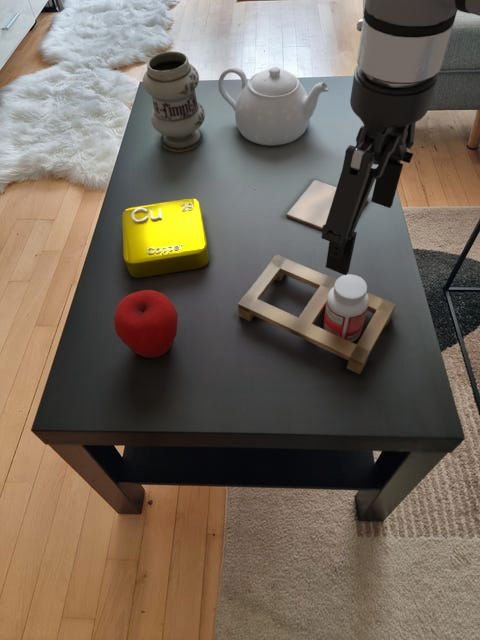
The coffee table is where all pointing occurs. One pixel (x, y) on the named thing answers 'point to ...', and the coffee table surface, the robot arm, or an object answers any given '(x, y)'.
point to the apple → (146, 322)
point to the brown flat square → (314, 204)
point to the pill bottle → (346, 307)
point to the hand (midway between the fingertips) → (360, 234)
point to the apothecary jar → (174, 100)
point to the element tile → (164, 238)
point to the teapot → (272, 105)
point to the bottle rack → (314, 312)
